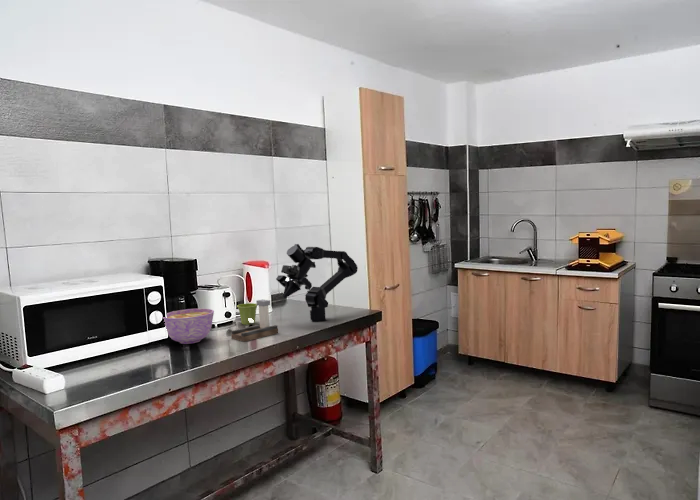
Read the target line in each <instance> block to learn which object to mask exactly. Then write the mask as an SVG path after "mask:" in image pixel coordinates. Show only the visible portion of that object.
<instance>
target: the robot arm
mask: <svg viewBox="0 0 700 500" xmlns="http://www.w3.org/2000/svg"><path fill="white" fill-rule="evenodd" d="M286 255H287V256H288V257H289V259H291V261H293V263H295V264H292V265H285V264H284V265H282V267H281V271H280V272H281V273H282V274H284V275H281V274H279V275H277V277H276V278H275V280H276V281H277V282H278V283H279V284H280V285H281V286H282V287H283V288H284V290H283V294H282V295H283V296H282V298H283V299H286V298H288V297H290V296H291V295H293V294H295V293H297V292H299V291H301V290H302V288H301V287H302V286H304V289H305V290H307V292H306V294H305V295H304V296H305V298H304V299H305V302H306V304H307V307H308V308H310V310H309V319H310V321H311V322H312V323H313V322H326V321H327V318H326V308H328V307H329V302H328V301H327V300H326V298H327V295H328V294H329V293H330V292H331V291H332V290H333V289H334V288H336V287H337V285H339V284H340V283H341V282H343V281H344V280H345V279H347V278H350V277H352V276H354V275H356V274H357V272H358V269H359V268H358V265H357V263H356V262H355V261H354V259H353V258H351V256H349V255H348V253H347V251H345V250H344V251H343V250H329V249H328V250H326V249H324V248H323V247H319V246H307V247H305V249H303V248H302V247H301V245H300V244H299V243H294V245H293V246H291V247H290V248H288V249H287V251H286ZM322 259H336V261H337V266H338V268H337V272H335V273H334V274H332V276H331V277H329V278H328V279H327V280H326V281H325V282H324V283H322V285H320V286H312V285H313V284H312V282H311V281H310V280H309V279H308V276H309V275H308V273H309V272H310V270H311V268H313V269H316V268H317V267H316V266H317V265H316V262H315V261H313V260H322ZM285 274H286V275H285Z"/></svg>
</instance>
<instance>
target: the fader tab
mask: <svg viewBox="0 0 700 500" xmlns="http://www.w3.org/2000/svg"><path fill="white" fill-rule="evenodd" d="M255 304H257V307H258V316H259V317H258V318H259V325H260V328H265V327H270V313H269V306H271V300H269V299H257V300H256V303H255Z"/></svg>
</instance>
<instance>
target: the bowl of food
mask: <svg viewBox="0 0 700 500" xmlns="http://www.w3.org/2000/svg"><path fill="white" fill-rule="evenodd" d="M214 312H215V311H214V310H213V309H211V308H187V309H180V310H173V311H170V312H167V318H166V317H162V320H163V319H164V321H163V323H164V322H165V323H164V326H166V327H165V330H166V329H167V330H166V331H167V335H168V336H169V338H171V340H173V341H174V342H178V343H179V344H182V345H189V344H195V343H199V342H201V341H202V340H203V339H205V338H206V337H208V335H209V334H210V332H211V330H212V326H213V325H212V324H213V320H214V314H215V313H214Z"/></svg>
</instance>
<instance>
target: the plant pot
mask: <svg viewBox="0 0 700 500" xmlns="http://www.w3.org/2000/svg"><path fill="white" fill-rule="evenodd" d="M236 307H237V308H238V311H239V317H240V321H241V325H246V326H247V325H248V326H249V325H251V324H250V323H249V321H248V318H252V319H253V320H254V324H255V323H256V314H257V308H258V305H257V303H254V302H253V303H252V302H251V303H250V302H249V303H240V304H238V305H237V306H236Z"/></svg>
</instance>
